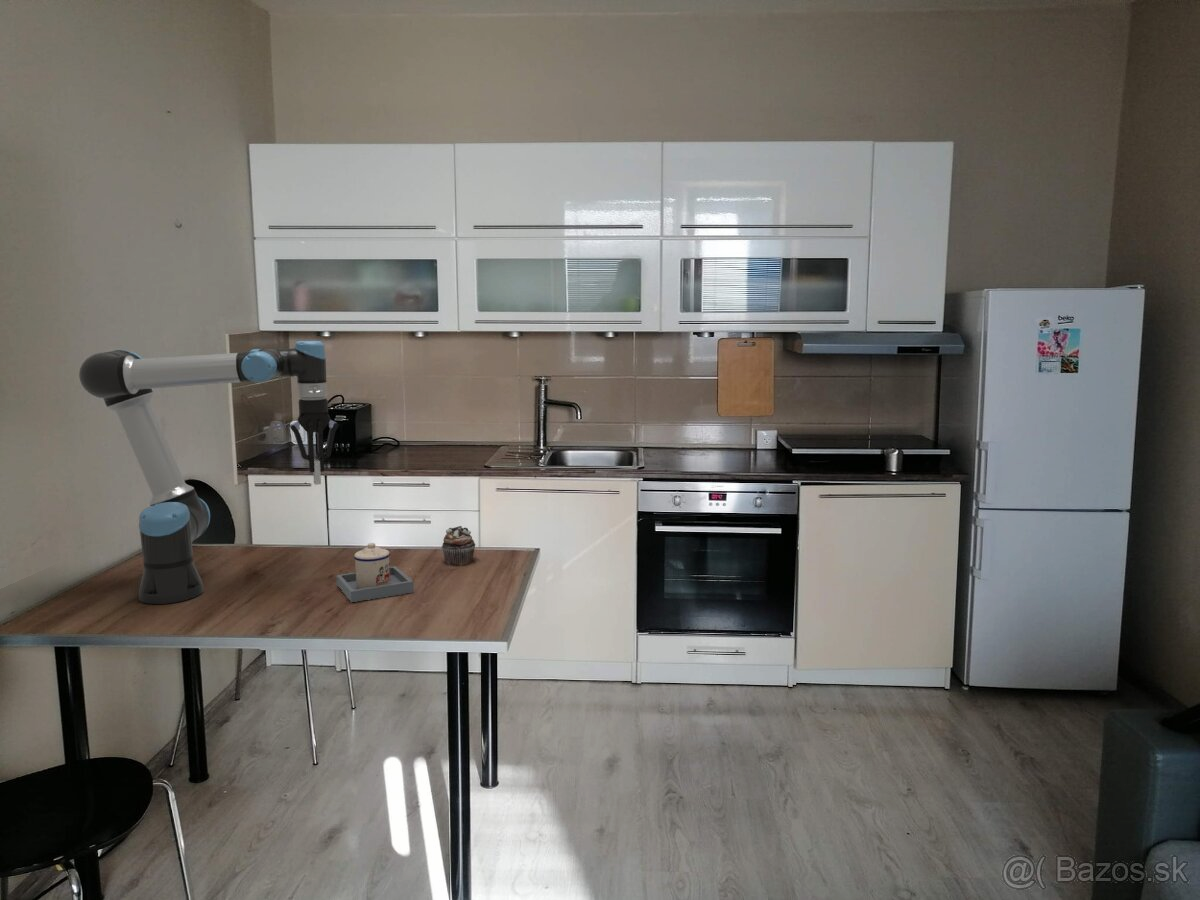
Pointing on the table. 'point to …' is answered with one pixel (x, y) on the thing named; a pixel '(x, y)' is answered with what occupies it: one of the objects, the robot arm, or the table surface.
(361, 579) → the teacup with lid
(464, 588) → the table surface
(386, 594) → the square tray
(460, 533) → the cupcake
